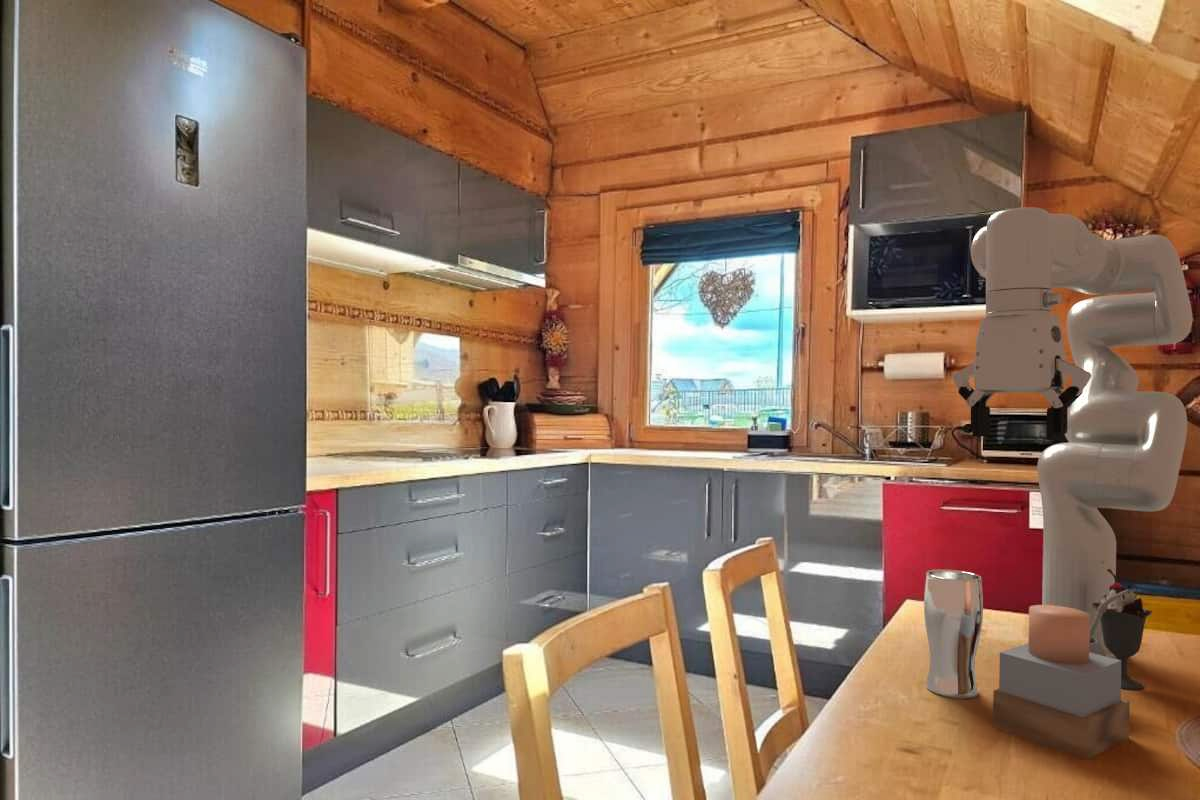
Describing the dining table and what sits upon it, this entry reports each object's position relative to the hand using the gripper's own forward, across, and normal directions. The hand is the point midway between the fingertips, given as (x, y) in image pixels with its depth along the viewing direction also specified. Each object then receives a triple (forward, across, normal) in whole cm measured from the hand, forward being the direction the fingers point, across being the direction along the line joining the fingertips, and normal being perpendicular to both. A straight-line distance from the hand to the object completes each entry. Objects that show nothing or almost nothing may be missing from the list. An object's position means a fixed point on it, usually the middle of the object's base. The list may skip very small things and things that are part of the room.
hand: (1016, 437), depth 103 cm
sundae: (+33, -6, -15) cm, 37 cm away
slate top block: (+29, -10, +9) cm, 32 cm away
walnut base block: (+33, -10, +9) cm, 36 cm away
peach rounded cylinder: (+24, -10, +9) cm, 27 cm away
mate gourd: (+33, -6, -3) cm, 34 cm away
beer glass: (+33, +4, +8) cm, 34 cm away
